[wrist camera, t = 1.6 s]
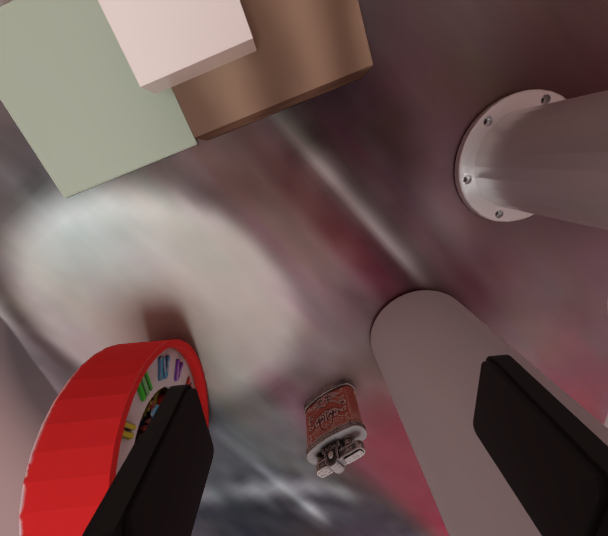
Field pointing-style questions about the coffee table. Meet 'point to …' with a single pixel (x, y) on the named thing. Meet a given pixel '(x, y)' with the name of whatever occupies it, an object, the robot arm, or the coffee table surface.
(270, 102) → the plate
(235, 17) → the tile
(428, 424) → the cylinder vase
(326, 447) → the lighter
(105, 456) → the toy clock
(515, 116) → the robot arm
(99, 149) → the mat
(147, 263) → the coffee table surface
